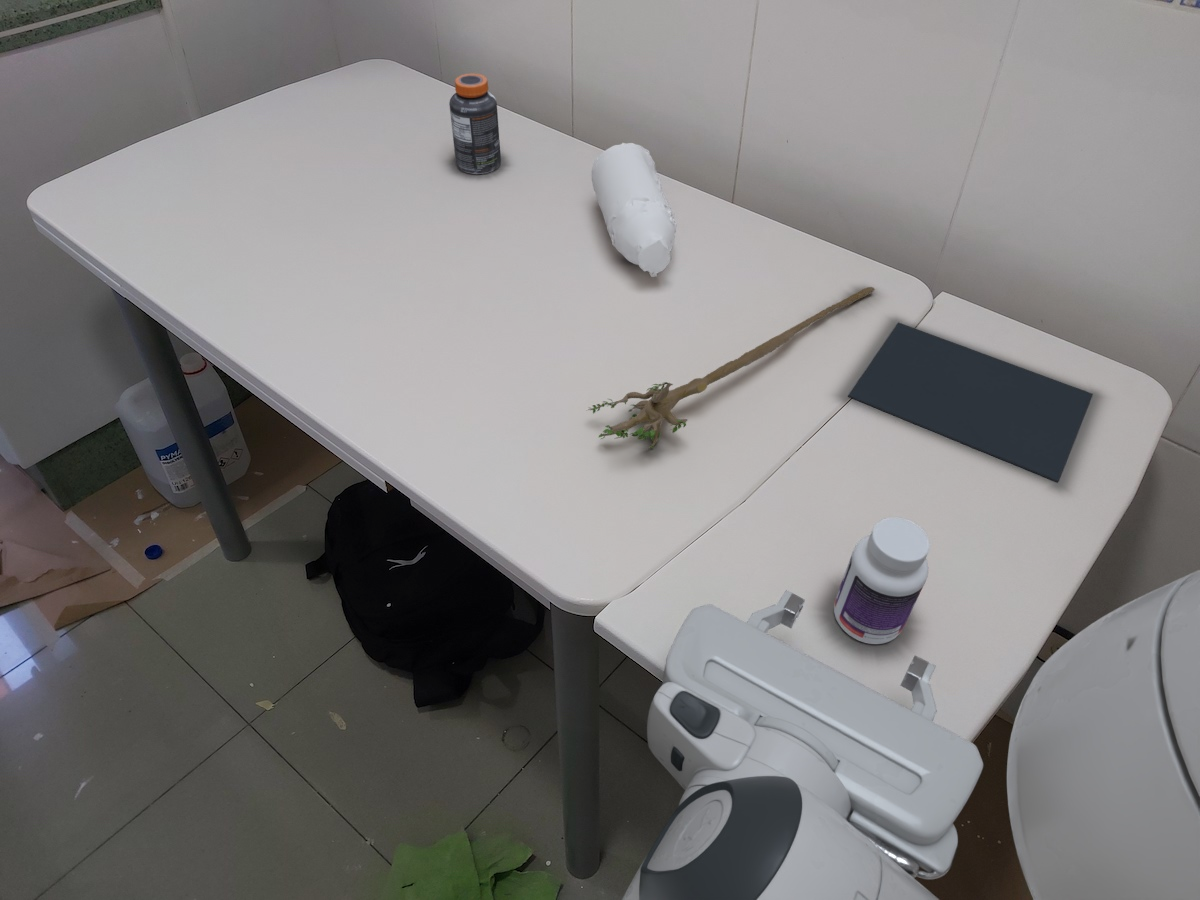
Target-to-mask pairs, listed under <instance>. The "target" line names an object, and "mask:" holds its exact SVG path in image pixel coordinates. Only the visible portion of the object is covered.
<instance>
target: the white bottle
mask: <svg viewBox="0 0 1200 900" xmlns="http://www.w3.org/2000/svg"><path fill="white" fill-rule="evenodd" d="M650 152H651V151H650V150H648V149H647V148H644V147H643V146H642V145H641V144H637V143H634V142H629V143H625V142H624V141H623V142H622V143H620V144H614V145H612V146H610V147H609V148H607V149H605V150H604V151H602V153H601V154H599V156H598V157H597V159H596V160H594V162H593V164H592V167H591V184H592V189H593V191H594V194H595V197H596V200H597V203H598V205H599V208H600V210H601V214H602V216H603V219H604V223H605V226H606V230H607V232H608V234H609V237H610V240H611V243H612V246H613V247H614V248H615V249H616V250H617V251H618V253H620V254H621V255H622V256H623V257H624V258H625V259H626V260H627V261H628V262H630V263H631V264H634V265H637V266H638V267H639V268H640V269H641V270H642V271H643V272H648V274H649V275H650V277H651V278H655V277H657V275H658V274H659V273H661V272H663V271H664V270H665V269H666V268H667V267H668V265H669V264H670V262H671V260H672V258H671V257H672V256H671V251H672V249H673V247H674V243H675V239H676V233H677V226H678V225H677V224H678V223H677V222H676V221H675V220H676V219H675V214H674V212H673V211H672V210H673V209H672V208H671V207H670V203H669V202H668V200H667V198H666V197H665V195H664V192H663V188H662V187H663V186H662V180H661V179H660V177H659V174H658V173H657V172H658V170H656V162H655V161H654V159H653V157H652V156H651V154H650Z"/></svg>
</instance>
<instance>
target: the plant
mask: <svg viewBox="0 0 1200 900" xmlns="http://www.w3.org/2000/svg"><path fill="white" fill-rule="evenodd" d="M873 292H875V288H874V287H873V286H868V287H867V286H866V287H865V288H862V289H861V290H859V291H857V292H856V293H853V294H851V295H850V296H848V297H847V298H844V299H842V300H841V301H839V302H836V303H833V304H832V305H831V306H830V305H829V306H828V307H826V308H825V309H822V310H821V311H819V312H817V313H816V314H814V315H812V316H810V317H808V318H807V319H805V320H803V321H801V322H800V323H798V324H796V325H794V326H792V327H790V328H789V329H787V330H785V331H784V332H782V333H780V334H778V335H775V336H774V337H772V338H770V339H768V340H767V341H765V342H763V343H761V344H759V345H758V346H756V347H755V348H753V349H751V350H749V351H746V352H745V353H742V355H741V356H739V357H737V358H735V359H734V360H730V361H728V362H726V363H724V364H723V365H721V366H718V368H716V369H715V370H712V371H711V372H709V373H707V374H706V375H705V376H703V377H697V378H693V379H691V381H689V382H687V383H686V384H683V385H680V386H678V387H675V388H673V389H670V387H671V386H673V385H674V383H671V382H667V381H663V382H661V383H654V384H652V387H648V388H647V389H646V393H641V392H638V391H631V392H627V393H626V394H625V396H624V397H623V398H621V399H619V400H616V401H613V400H612V399H611V398H608V400H609V401H610V402H608V401H602V404H600V403H597V404H596V405H595V404H593V405H592V407H589V406H588V409H587V410H585V411H592V415H594V414H596V413H597V412H598V411H600V410H601V408H602V407H603V408H604V407H605V406H607V407H609V406H610V409H614V408H615V406H617V404H620V403H621V404H622V403H624V405H627V402H629V399H630V400H631V399H641V400H640V401H639V402H637V403H636V404H634V403H633V404H630V405H629V406H632V408H630V409H628V412H629V413H631V412H632V411H633V410H635V409H636V410H637V409H638V410H640V411H639V413H638V414H637V413H634V414H632V415H631V417H629V419H628V420H625V421H622V422H620V423H617V424H615V425H613V426H610V424H607V425H605V427H604V428H605V429H604V430H603V431H602V433H600V434H599V435H598V438H600V440H603V439H604V438H606V437H607V436H613V435H614V436H615V435H616V436H617V437H614V438H613V439H614V440H616V439H621V438H622V439H625V438H628V437H629V438H630V437H634V438H635V437H637V438H636V439H637V440H647V439H648V438H650V440H651V441H652V442H651V444H650V445H649V446H648V447H647V448H646V449H645V450H646V451H647V450H648V449H650V448H651V449H652V450H653V449H654V448H655V445H656V444H657V442H658V440H659V439H660V438H661V435H662V434H661V427H662V422H663V419H665V420H666V422H667V423H669V424H670V426H674V427H673V428H671V429H669V431H672V434H674V433H675V432H677V431H678V430H680V429H681V428H682V426H683V428H685V427H686V426H687V422H688V419H687V418H683V419H682V418H677V417H676V416H675V414H673V412H672V410H673V409H674V408H675V407H676V405H677V404H678V403H679V402H680V401H681V400H683V399H685V398H687V397H689V396H693V395H697V394H700V393H703V392H704V391H706V389H707V388H708V386H709V385H711V384H713V383H715V382H718V381H720V380H721V379H724V378H725V377H727V376H729V375H731V374H733V373H736V372H738V371H739V370H740V369H742V368H743V367H747V366H749V365H751V364H752V363H754V362H756V361H758V360H761V359H762V358H764V357H765V356H767V355H768V354H772V353H773V352H774V351H775V350H777V349H778V348H780V347H781V346H783V345H785V344H786V343H787V342H789V341H790V340H791V339H792V338H794V336H795V335H796V334H798V333H799V332H801V331H803V330H804V329H806V328H809V326H811V324H813V323H816V322H818V321H819V320H821V319H824V318H826V316H828V314H829V313H831V312H833V311H835V310H837V309H839V310H840V309H842V308H844V307H846V306H849V305H851V304H853V303H854V302H856V301H858V300H860V299H862V298H864V297H867V296H868V295H871V294H872V293H873ZM660 387H661V388H660ZM641 423H645V424H644V425H643V427H642V426H641V427H639V428H638V429H637V431H634V432H631V433H630V434H629V433H628V432H629V430H631V429H632V428H635V426H637V425H639V424H641ZM649 429H650V430H649ZM647 430H648V431H647ZM644 431H645V432H644ZM629 435H630V436H629Z"/></svg>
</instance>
